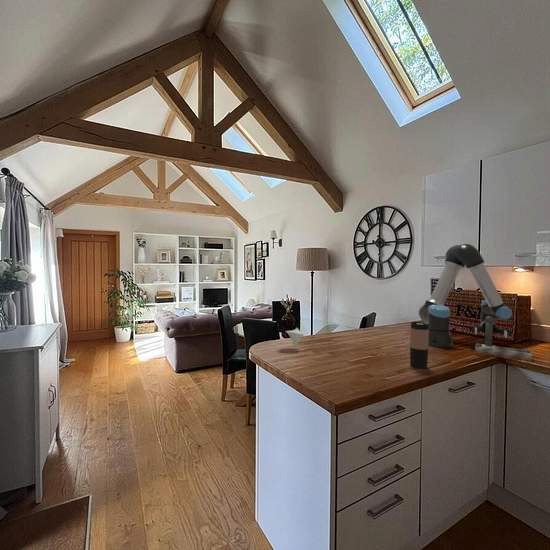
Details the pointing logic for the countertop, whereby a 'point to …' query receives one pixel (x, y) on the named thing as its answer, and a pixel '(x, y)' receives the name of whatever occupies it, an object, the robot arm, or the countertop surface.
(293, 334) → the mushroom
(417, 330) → the travel mug
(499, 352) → the rail base
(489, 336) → the slider
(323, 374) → the countertop surface
